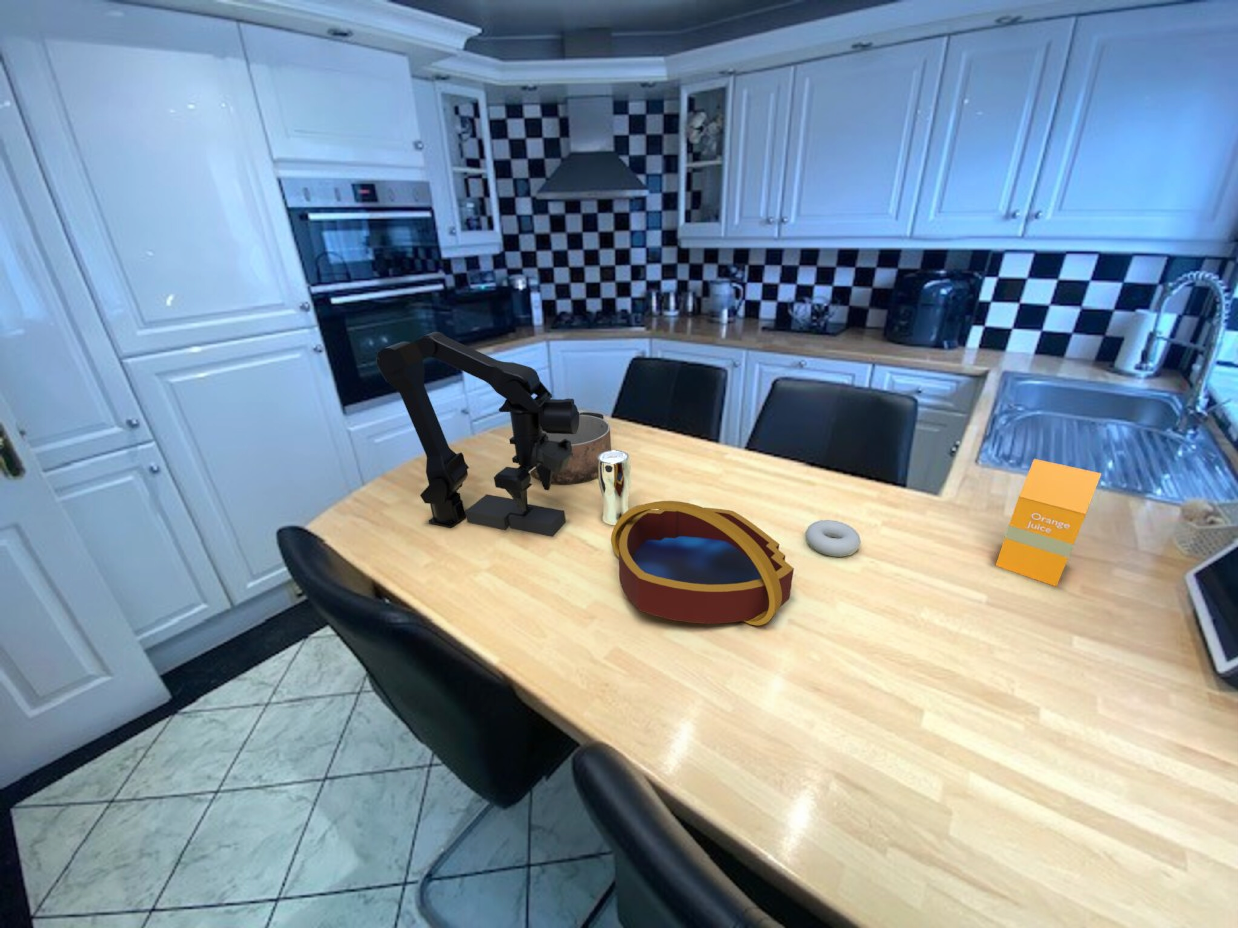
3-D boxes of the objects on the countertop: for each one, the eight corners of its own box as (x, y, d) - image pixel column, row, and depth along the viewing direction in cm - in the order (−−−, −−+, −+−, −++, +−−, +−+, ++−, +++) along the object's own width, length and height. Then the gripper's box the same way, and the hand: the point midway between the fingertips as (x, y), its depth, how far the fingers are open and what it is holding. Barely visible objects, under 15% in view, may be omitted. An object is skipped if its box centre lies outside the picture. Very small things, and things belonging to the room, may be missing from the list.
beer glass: (629, 527, 108) (626, 464, 101) (597, 525, 109) (592, 462, 103) (634, 511, 114) (632, 450, 107) (604, 509, 115) (600, 449, 109)
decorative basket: (815, 597, 89) (831, 520, 84) (719, 675, 69) (733, 580, 64) (668, 530, 111) (674, 465, 107) (564, 574, 92) (566, 497, 87)
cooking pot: (579, 498, 120) (575, 457, 116) (503, 483, 129) (497, 444, 125) (630, 450, 144) (629, 415, 140) (563, 440, 153) (560, 406, 149)
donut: (858, 565, 93) (860, 536, 101) (861, 550, 92) (862, 521, 100) (801, 553, 97) (807, 526, 105) (803, 538, 96) (809, 512, 104)
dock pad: (467, 522, 113) (465, 510, 111) (488, 505, 119) (486, 494, 118) (516, 532, 108) (514, 520, 107) (535, 513, 115) (534, 502, 113)
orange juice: (1005, 547, 96) (1037, 451, 88) (1064, 566, 90) (1105, 465, 82) (994, 565, 91) (1028, 466, 83) (1056, 587, 85) (1099, 482, 77)
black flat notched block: (510, 528, 110) (508, 516, 108) (524, 514, 115) (523, 503, 113) (552, 536, 106) (551, 524, 105) (565, 522, 111) (564, 510, 110)
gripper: (538, 455, 90) (547, 529, 97) (584, 419, 106) (589, 485, 112) (486, 448, 94) (498, 519, 101) (537, 414, 110) (545, 478, 116)
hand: (536, 499), depth 107 cm, fingers open, 9 cm apart
